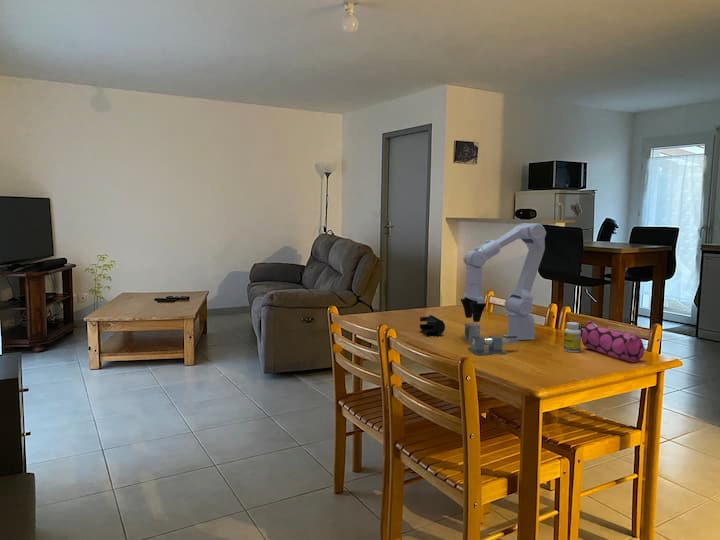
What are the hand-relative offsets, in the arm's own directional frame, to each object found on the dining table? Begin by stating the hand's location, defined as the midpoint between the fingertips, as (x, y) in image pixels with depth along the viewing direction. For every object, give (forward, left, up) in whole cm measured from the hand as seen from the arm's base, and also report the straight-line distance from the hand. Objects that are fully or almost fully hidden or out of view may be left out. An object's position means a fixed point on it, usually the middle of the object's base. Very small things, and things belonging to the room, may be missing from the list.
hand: (472, 319), depth 202 cm
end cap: (+11, -14, -8) cm, 20 cm away
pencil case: (-39, +26, -8) cm, 48 cm away
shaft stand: (-2, +16, -8) cm, 18 cm away
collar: (0, 0, -8) cm, 8 cm away
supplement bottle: (-29, +19, -8) cm, 36 cm away
